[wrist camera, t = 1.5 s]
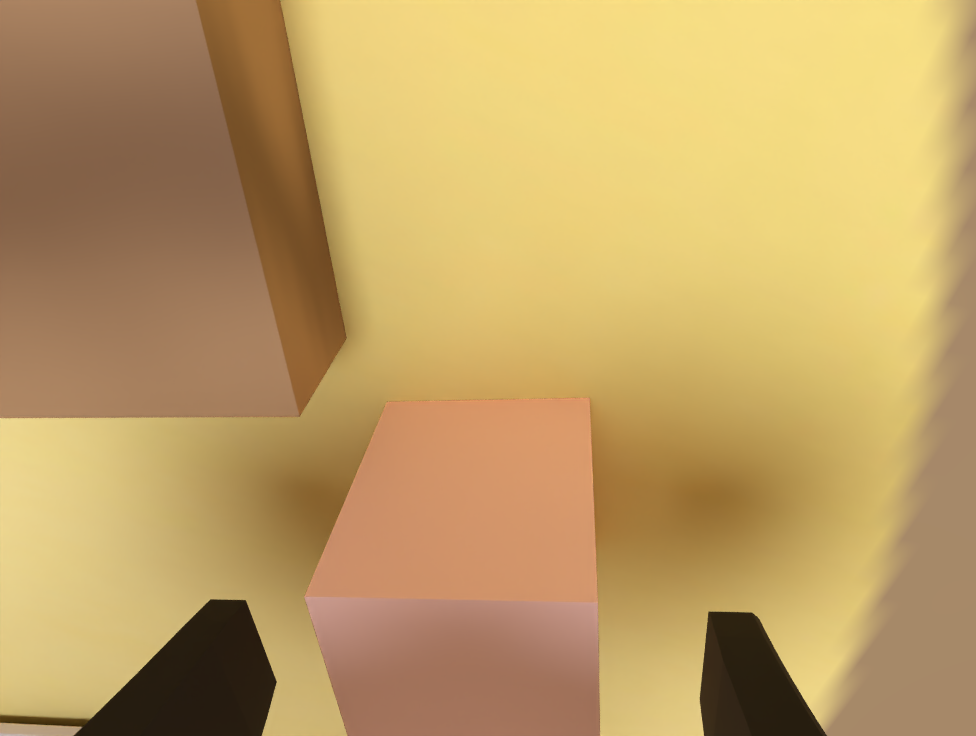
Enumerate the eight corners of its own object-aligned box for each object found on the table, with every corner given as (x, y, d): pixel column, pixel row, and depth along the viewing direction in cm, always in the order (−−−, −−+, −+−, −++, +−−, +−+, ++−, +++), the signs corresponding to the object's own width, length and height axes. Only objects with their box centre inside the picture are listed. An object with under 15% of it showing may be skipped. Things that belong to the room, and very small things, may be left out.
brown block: (351, 330, 13) (299, 417, 11) (23, 336, 14) (-97, 418, 12) (268, -104, 10) (163, -128, 7) (-159, -61, 11) (-384, -69, 8)
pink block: (592, 549, 15) (600, 778, 11) (415, 548, 16) (357, 765, 12) (590, 396, 13) (598, 602, 9) (387, 400, 14) (304, 596, 10)
